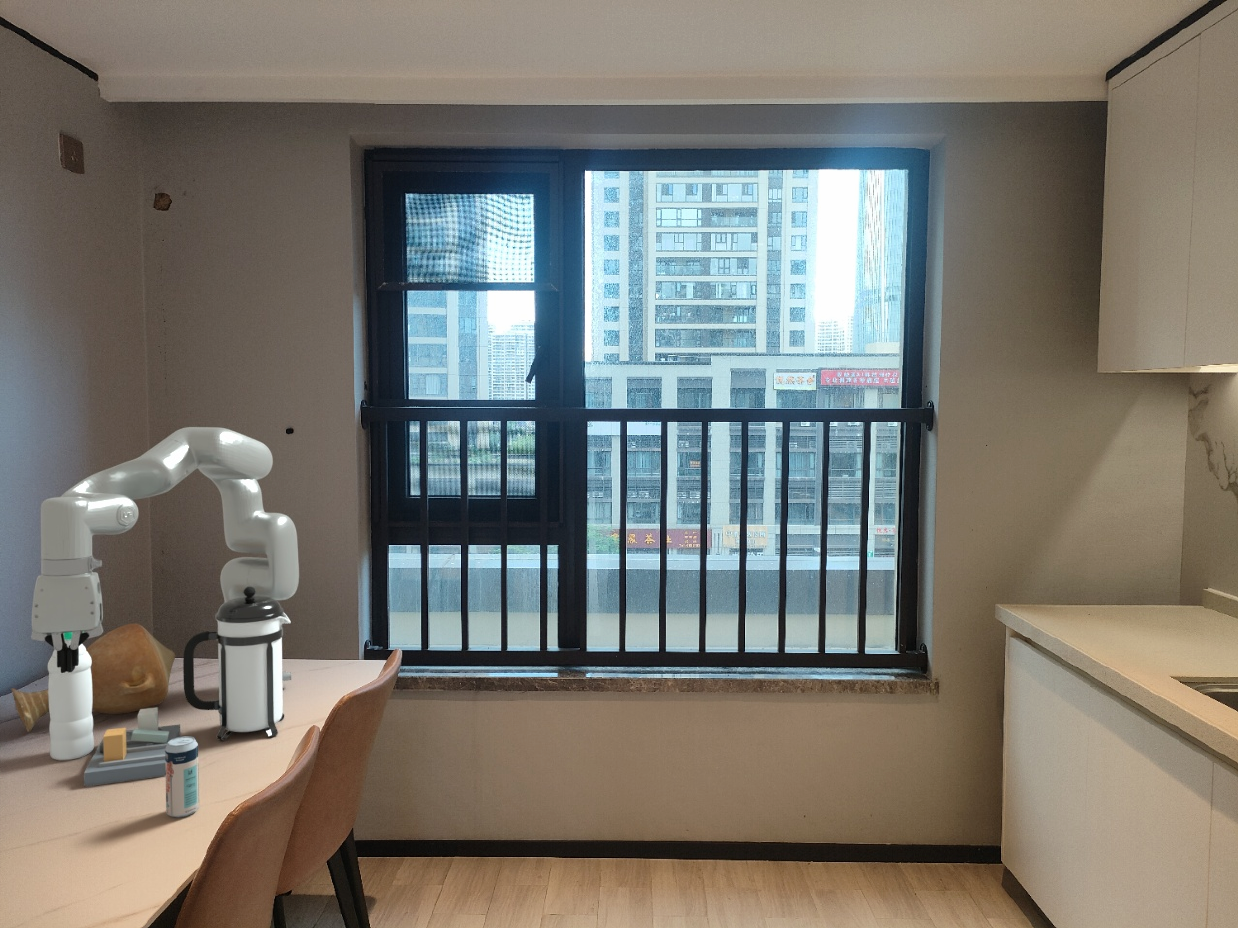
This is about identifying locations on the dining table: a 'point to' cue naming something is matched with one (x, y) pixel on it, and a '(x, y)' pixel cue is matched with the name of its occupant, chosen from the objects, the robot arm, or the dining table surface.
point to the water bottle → (70, 707)
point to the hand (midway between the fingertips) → (68, 670)
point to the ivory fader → (148, 719)
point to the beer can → (182, 776)
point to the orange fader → (114, 744)
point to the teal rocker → (150, 735)
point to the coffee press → (244, 665)
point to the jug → (115, 675)
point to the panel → (130, 761)
